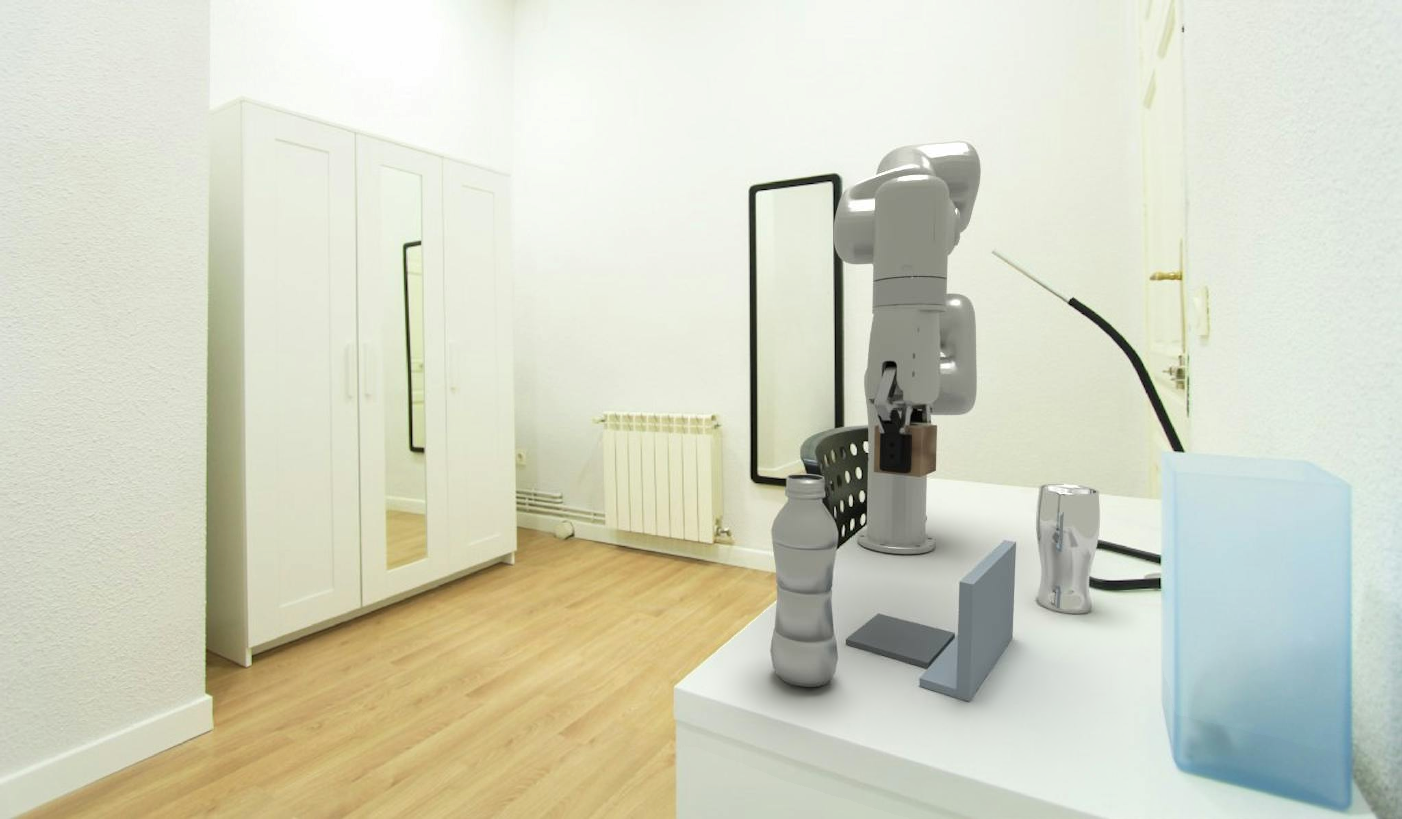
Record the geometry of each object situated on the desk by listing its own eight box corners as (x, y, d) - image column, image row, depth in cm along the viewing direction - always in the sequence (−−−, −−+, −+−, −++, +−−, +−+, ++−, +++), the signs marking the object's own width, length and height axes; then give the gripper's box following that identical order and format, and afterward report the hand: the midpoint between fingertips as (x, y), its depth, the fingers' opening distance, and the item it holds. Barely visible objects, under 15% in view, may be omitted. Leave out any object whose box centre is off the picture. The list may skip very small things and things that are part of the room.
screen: (969, 627, 74) (972, 534, 73) (1012, 637, 71) (1016, 541, 71) (919, 685, 61) (922, 573, 60) (969, 701, 58) (973, 584, 57)
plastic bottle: (797, 702, 58) (799, 486, 56) (757, 670, 64) (758, 474, 62) (852, 686, 61) (855, 480, 59) (808, 656, 67) (811, 469, 65)
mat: (878, 618, 77) (878, 613, 77) (954, 637, 71) (955, 632, 71) (845, 644, 70) (845, 638, 70) (928, 668, 64) (928, 662, 64)
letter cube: (891, 466, 73) (892, 419, 72) (935, 470, 69) (937, 422, 69) (873, 472, 69) (874, 423, 68) (920, 477, 66) (921, 425, 65)
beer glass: (1105, 617, 77) (1111, 495, 76) (1042, 613, 78) (1047, 493, 77) (1083, 596, 84) (1088, 484, 83) (1025, 593, 85) (1030, 482, 84)
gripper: (903, 306, 77) (900, 456, 78) (841, 294, 63) (838, 475, 65) (968, 303, 72) (963, 462, 73) (916, 289, 59) (911, 483, 60)
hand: (905, 466), depth 69 cm, fingers closed on letter cube, 5 cm apart
